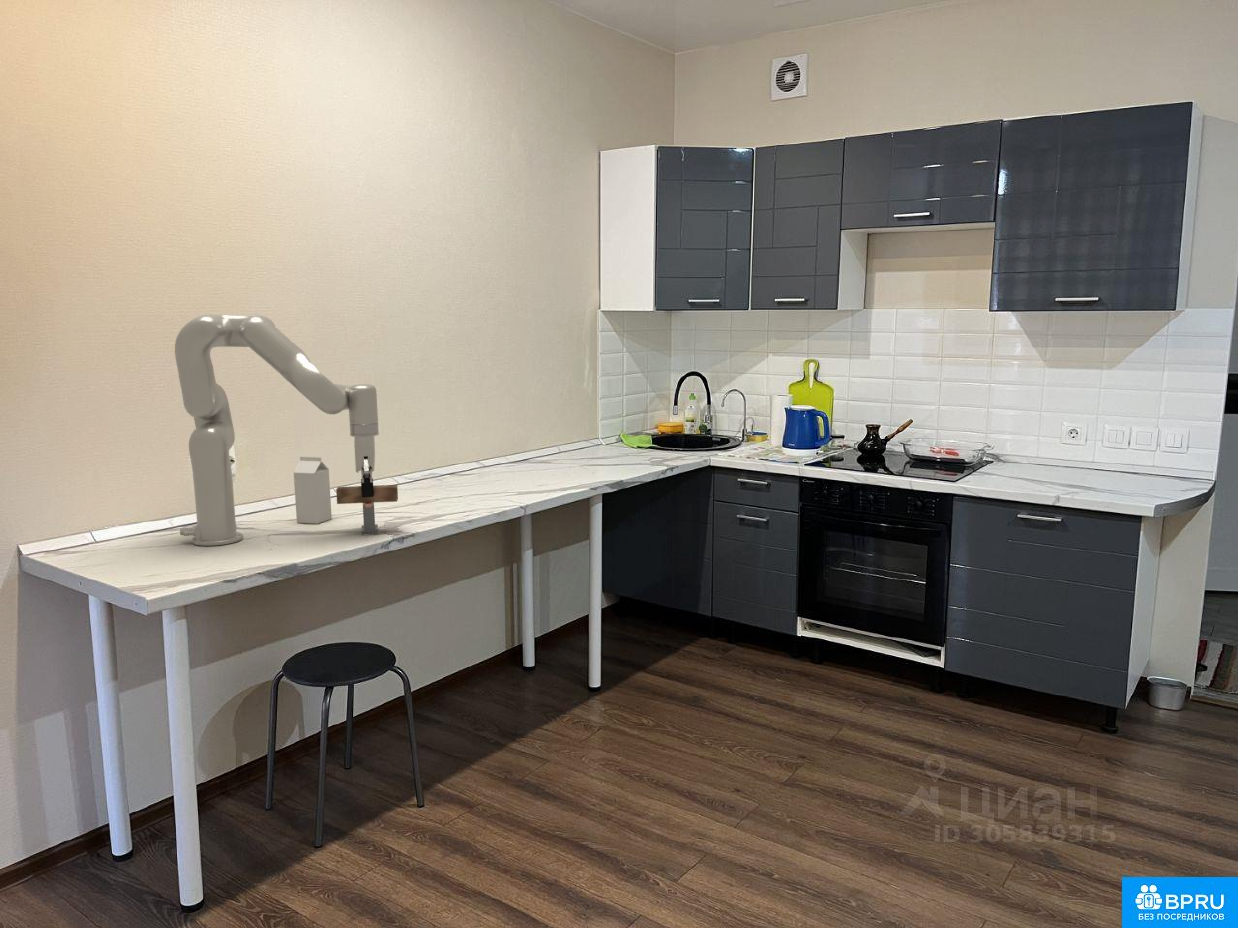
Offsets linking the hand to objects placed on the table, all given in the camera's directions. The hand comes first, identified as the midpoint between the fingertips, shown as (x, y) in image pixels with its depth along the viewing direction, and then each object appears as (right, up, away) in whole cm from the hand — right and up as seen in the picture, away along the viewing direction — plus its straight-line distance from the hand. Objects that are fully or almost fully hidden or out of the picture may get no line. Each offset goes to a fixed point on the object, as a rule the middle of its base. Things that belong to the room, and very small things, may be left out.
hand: (367, 494), depth 261 cm
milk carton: (-20, -9, +16) cm, 27 cm away
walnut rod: (0, -2, 0) cm, 2 cm away
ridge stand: (0, -10, +2) cm, 11 cm away
